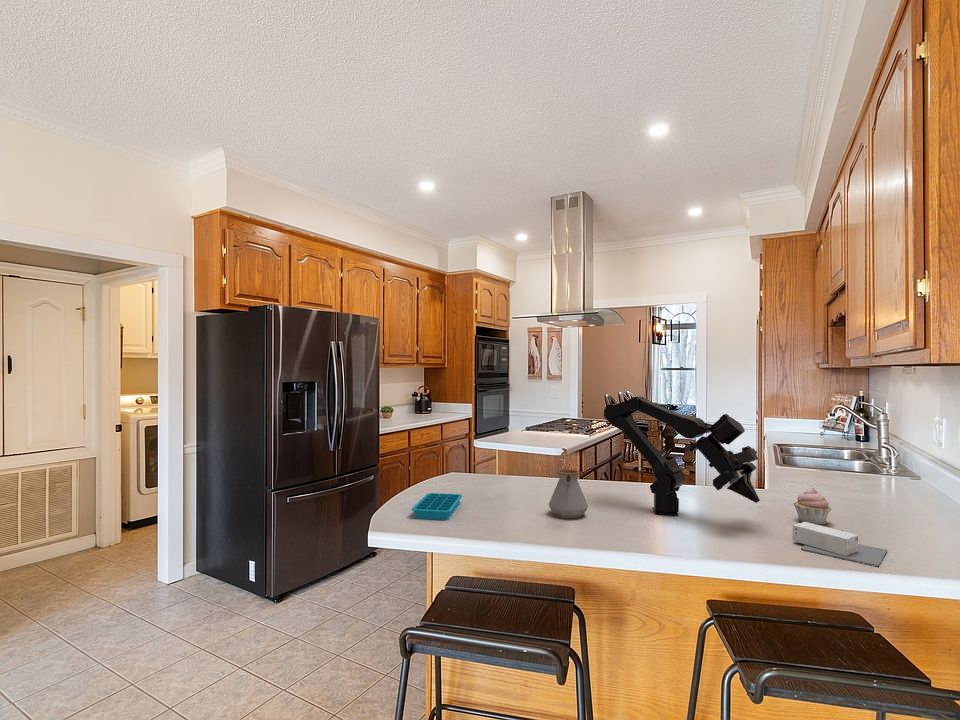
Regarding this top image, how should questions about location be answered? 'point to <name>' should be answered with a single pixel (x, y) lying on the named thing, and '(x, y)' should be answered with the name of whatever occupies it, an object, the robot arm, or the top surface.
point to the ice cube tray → (437, 506)
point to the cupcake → (812, 507)
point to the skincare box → (825, 538)
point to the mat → (855, 554)
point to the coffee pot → (568, 496)
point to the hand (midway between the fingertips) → (758, 501)
